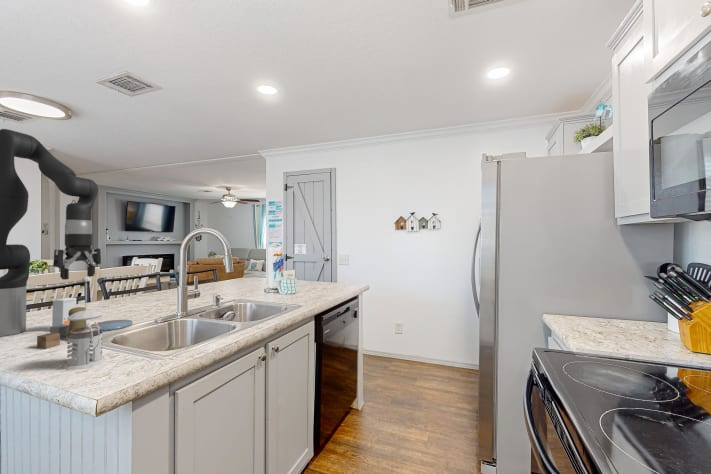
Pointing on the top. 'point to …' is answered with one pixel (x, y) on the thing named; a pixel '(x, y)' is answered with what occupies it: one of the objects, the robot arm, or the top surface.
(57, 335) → the walnut block
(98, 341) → the french press
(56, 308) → the skincare box
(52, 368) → the top surface
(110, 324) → the slate plate
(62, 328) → the graphite block
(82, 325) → the cork
